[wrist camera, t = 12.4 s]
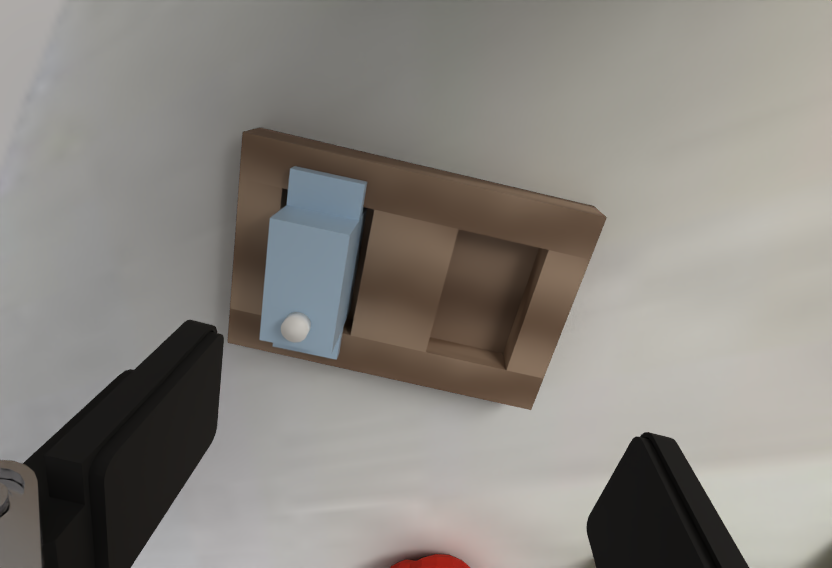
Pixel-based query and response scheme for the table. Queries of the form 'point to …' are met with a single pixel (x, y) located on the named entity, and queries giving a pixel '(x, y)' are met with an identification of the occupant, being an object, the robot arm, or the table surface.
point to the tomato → (432, 562)
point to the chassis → (426, 269)
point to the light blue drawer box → (313, 262)
